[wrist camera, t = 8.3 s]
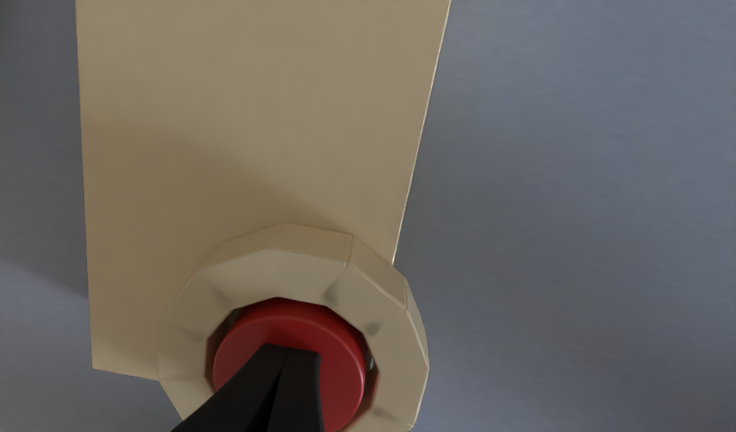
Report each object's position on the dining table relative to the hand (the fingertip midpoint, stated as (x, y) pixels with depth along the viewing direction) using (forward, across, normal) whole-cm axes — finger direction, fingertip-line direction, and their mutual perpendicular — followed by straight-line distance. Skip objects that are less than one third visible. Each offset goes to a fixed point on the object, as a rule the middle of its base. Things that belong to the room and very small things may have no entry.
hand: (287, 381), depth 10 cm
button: (+2, 0, 0) cm, 2 cm away
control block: (+4, +2, -4) cm, 7 cm away
